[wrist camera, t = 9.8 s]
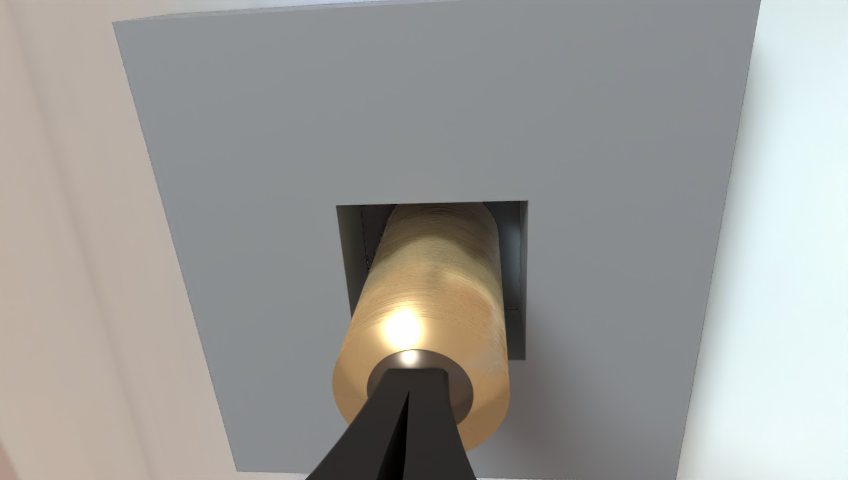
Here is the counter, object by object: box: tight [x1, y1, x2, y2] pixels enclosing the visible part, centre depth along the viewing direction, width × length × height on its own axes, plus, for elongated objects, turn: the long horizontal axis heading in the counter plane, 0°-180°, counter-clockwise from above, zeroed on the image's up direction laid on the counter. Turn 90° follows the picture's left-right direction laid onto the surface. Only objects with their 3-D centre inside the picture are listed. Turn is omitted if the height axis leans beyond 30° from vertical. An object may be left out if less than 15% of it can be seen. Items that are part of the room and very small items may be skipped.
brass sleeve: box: [332, 202, 510, 452], centre depth 16 cm, size 4×4×8 cm
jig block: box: [112, 0, 761, 480], centre depth 19 cm, size 16×16×3 cm
